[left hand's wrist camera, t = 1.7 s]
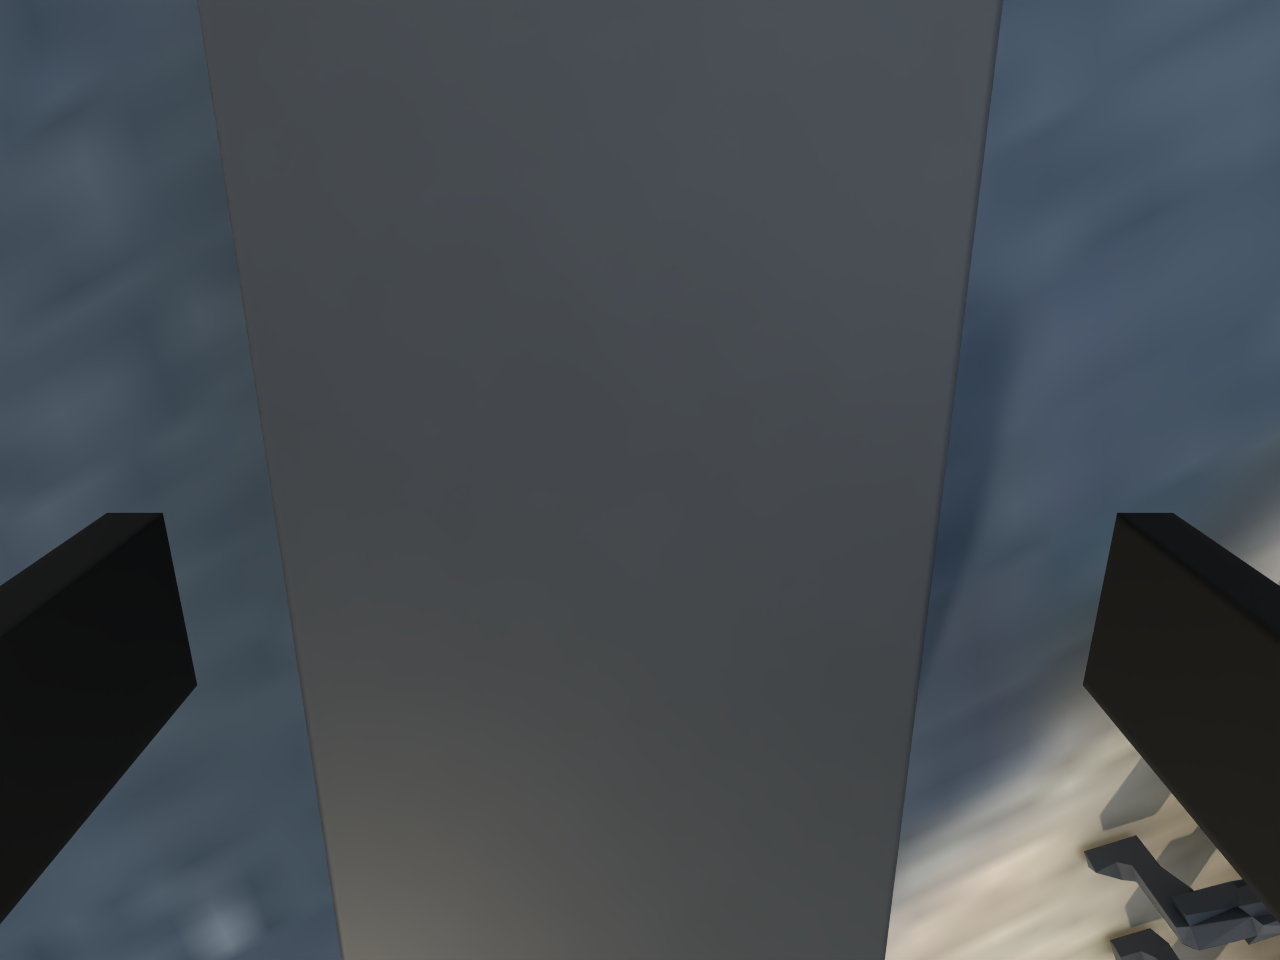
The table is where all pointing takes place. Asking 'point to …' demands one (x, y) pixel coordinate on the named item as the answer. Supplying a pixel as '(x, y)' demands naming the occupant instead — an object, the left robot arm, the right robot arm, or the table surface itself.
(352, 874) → the box
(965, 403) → the table surface
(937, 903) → the table surface
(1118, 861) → the toy
